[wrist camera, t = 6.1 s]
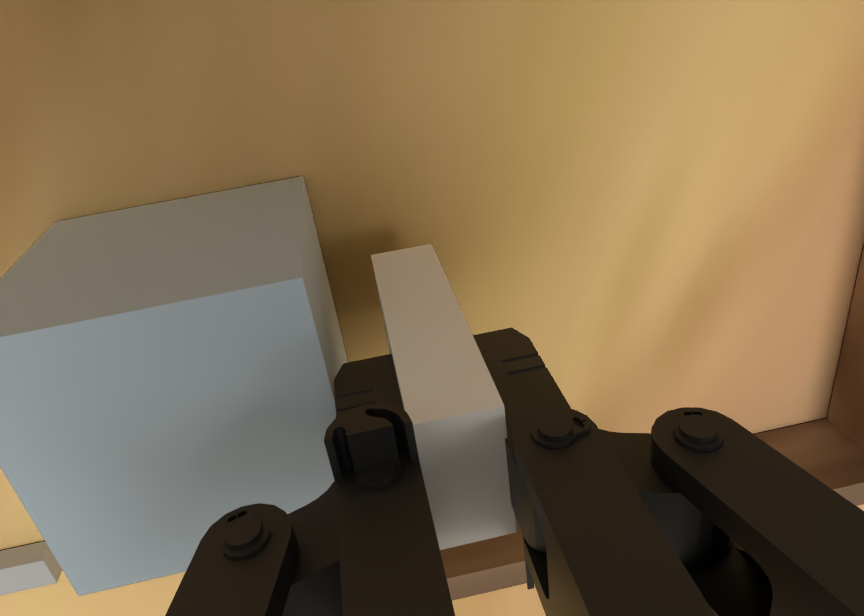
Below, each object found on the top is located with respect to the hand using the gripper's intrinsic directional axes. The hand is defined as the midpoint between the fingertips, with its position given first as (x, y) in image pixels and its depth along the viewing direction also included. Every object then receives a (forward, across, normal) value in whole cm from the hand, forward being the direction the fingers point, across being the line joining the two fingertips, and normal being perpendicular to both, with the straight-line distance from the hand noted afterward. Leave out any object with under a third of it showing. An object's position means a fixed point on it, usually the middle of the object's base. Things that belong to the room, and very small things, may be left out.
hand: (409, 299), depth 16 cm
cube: (+2, -5, 0) cm, 5 cm away
